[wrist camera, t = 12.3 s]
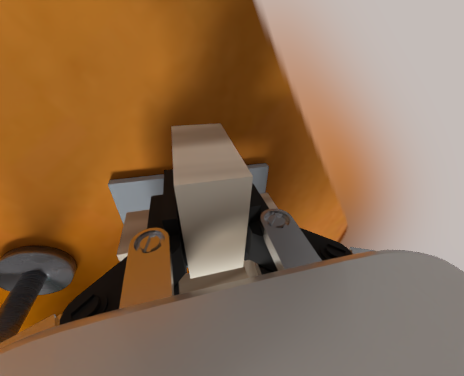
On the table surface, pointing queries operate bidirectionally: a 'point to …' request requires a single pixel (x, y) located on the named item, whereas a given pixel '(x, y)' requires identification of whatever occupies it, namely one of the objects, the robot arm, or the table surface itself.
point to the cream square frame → (206, 207)
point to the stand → (30, 282)
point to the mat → (161, 189)
